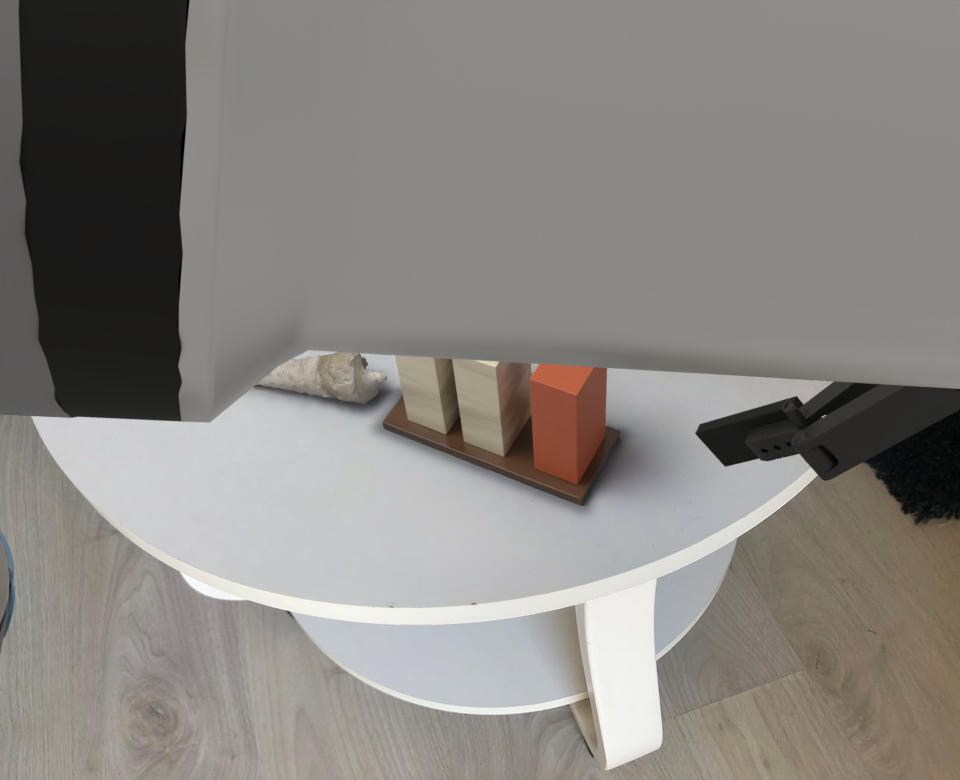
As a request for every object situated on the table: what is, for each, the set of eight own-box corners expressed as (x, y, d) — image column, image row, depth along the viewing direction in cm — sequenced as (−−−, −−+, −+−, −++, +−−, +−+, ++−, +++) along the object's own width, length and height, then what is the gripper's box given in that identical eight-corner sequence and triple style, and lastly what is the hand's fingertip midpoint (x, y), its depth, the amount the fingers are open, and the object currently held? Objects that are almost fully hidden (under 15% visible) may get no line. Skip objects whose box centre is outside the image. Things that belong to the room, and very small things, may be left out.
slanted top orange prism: (577, 485, 72) (577, 395, 65) (534, 468, 73) (529, 378, 66) (605, 436, 75) (608, 344, 67) (563, 421, 76) (561, 329, 69)
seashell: (389, 413, 79) (375, 385, 75) (208, 403, 83) (186, 376, 79) (398, 368, 81) (385, 338, 78) (222, 360, 85) (201, 332, 81)
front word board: (581, 505, 72) (581, 409, 64) (383, 428, 78) (360, 332, 70) (619, 436, 76) (624, 338, 68) (428, 368, 82) (411, 270, 74)
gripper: (1163, 511, 36) (718, 570, 53) (1211, 135, 50) (847, 276, 66) (1055, 367, 34) (628, 475, 50) (1137, 16, 47) (780, 193, 64)
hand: (752, 362), depth 58 cm, fingers open, 13 cm apart
